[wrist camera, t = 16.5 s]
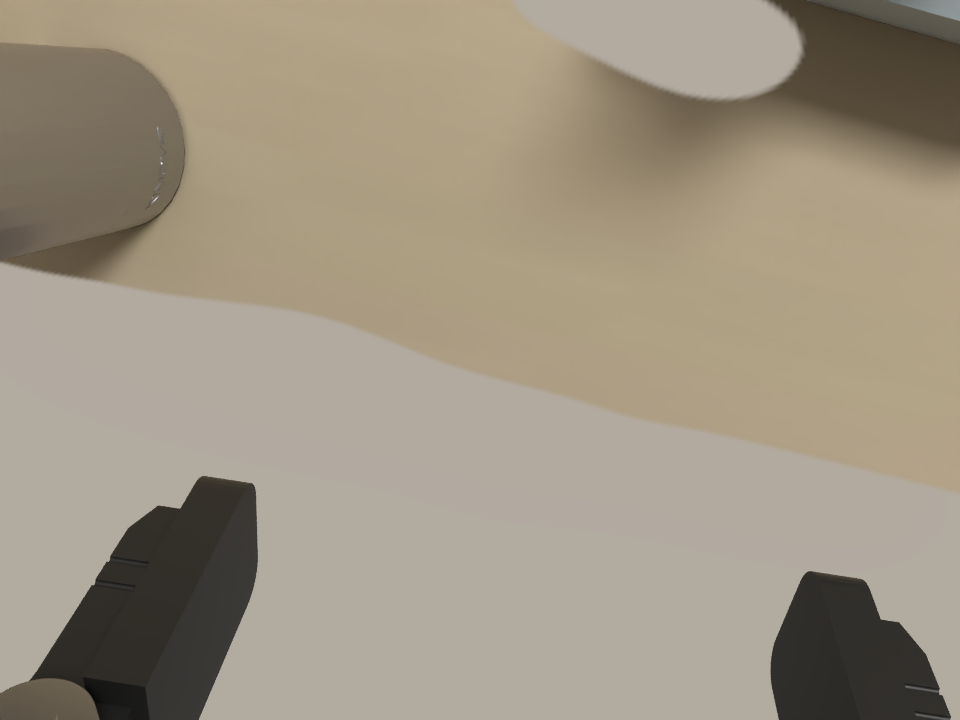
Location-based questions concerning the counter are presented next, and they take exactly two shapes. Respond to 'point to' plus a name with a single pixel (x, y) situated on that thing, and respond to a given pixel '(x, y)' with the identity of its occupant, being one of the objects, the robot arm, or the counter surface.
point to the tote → (907, 14)
